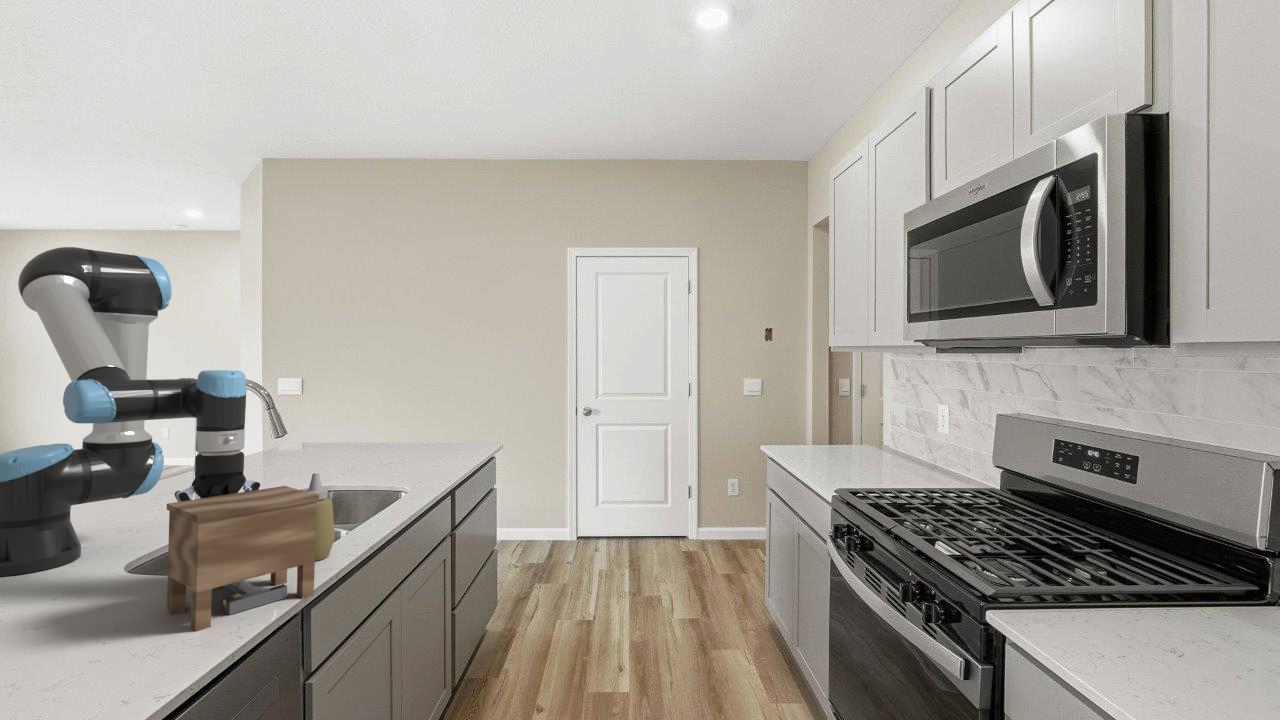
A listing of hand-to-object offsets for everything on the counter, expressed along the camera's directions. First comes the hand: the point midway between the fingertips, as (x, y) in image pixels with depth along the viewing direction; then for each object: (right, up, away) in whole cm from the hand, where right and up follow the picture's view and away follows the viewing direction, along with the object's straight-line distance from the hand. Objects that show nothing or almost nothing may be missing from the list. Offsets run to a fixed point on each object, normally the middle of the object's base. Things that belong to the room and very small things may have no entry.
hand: (216, 576), depth 111 cm
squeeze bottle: (+10, -2, +15) cm, 18 cm away
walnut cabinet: (+11, -1, -8) cm, 14 cm away
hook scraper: (+7, -1, -5) cm, 8 cm away
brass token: (+10, -2, -8) cm, 13 cm away
